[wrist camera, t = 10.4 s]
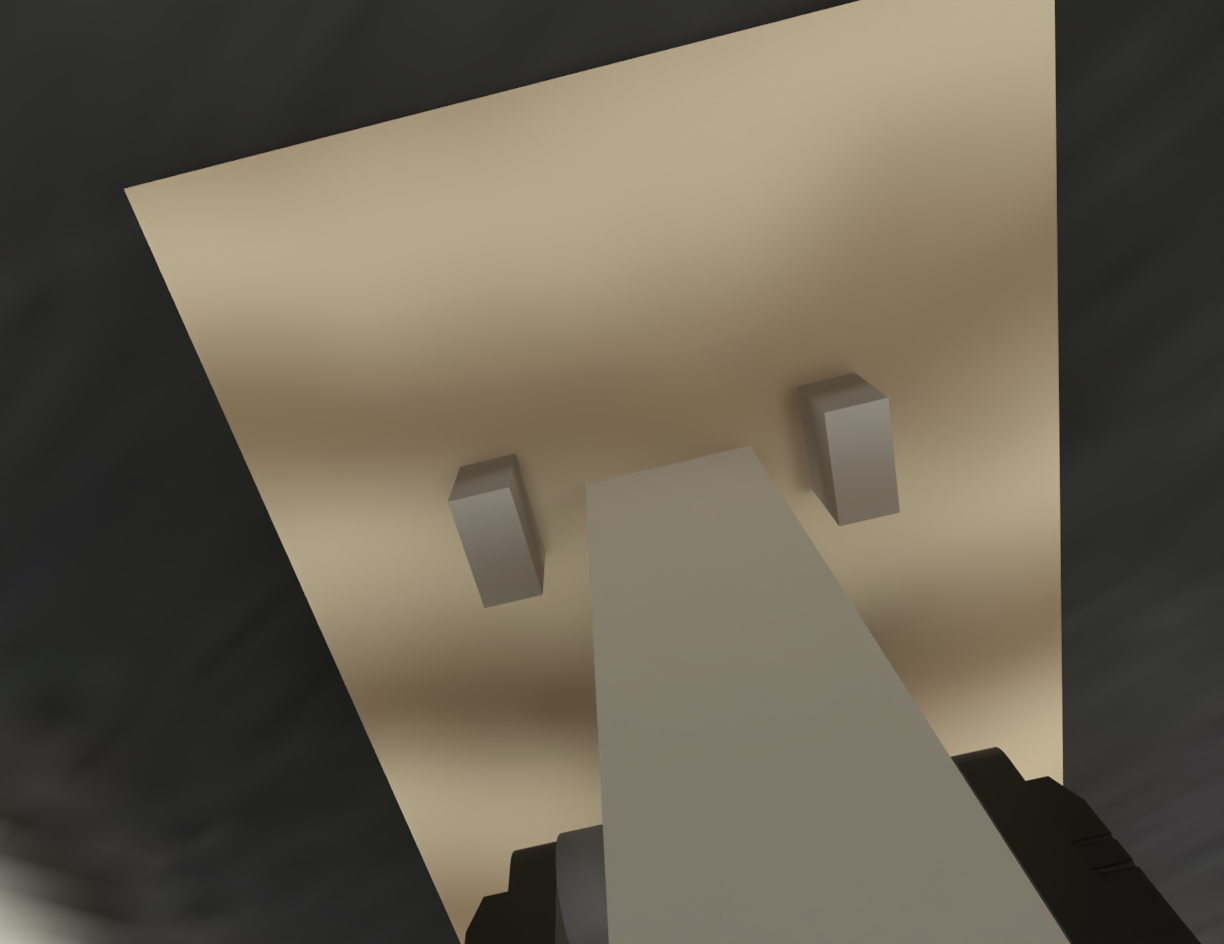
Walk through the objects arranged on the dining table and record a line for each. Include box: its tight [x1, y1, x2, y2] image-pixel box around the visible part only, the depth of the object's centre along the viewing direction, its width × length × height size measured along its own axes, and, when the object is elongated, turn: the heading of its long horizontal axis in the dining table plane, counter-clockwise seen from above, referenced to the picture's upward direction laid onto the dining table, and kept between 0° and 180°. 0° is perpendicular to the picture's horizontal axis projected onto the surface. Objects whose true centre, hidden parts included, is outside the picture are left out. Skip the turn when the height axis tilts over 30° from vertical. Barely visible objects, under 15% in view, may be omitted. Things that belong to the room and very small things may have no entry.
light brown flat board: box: [124, 0, 1063, 944], centre depth 15 cm, size 22×14×2 cm, turn 13°
